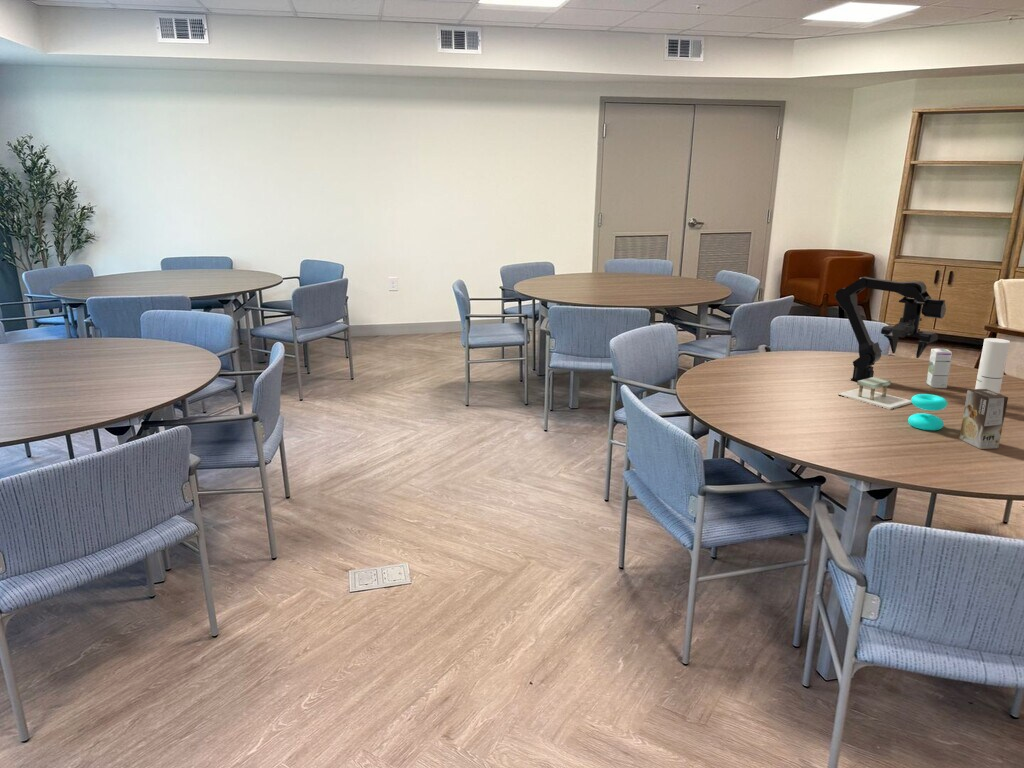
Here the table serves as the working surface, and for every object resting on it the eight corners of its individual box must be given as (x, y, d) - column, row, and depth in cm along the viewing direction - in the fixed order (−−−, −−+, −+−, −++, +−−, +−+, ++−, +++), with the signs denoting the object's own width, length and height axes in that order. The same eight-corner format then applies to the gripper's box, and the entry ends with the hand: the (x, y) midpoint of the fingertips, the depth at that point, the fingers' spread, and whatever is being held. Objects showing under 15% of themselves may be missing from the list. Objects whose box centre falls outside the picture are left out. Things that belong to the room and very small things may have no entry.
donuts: (954, 401, 212) (922, 402, 212) (949, 431, 215) (917, 431, 215) (936, 392, 222) (905, 392, 222) (931, 421, 224) (901, 421, 225)
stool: (871, 392, 254) (873, 376, 252) (888, 396, 249) (890, 380, 247) (855, 396, 249) (857, 380, 247) (872, 400, 244) (874, 385, 242)
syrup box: (947, 388, 260) (953, 351, 256) (930, 387, 261) (936, 351, 257) (941, 384, 265) (947, 348, 261) (924, 383, 267) (930, 348, 263)
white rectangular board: (837, 395, 253) (838, 393, 253) (860, 389, 260) (860, 387, 260) (889, 409, 236) (890, 407, 236) (912, 402, 243) (912, 400, 243)
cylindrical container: (988, 414, 230) (1002, 343, 223) (966, 409, 236) (979, 339, 229) (1000, 411, 233) (1014, 341, 226) (978, 406, 239) (991, 337, 232)
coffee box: (999, 448, 201) (1010, 397, 196) (979, 449, 200) (989, 398, 196) (976, 437, 209) (986, 388, 205) (957, 438, 209) (966, 389, 204)
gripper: (875, 313, 257) (869, 353, 262) (925, 321, 242) (918, 363, 246) (892, 310, 263) (886, 349, 267) (941, 318, 247) (934, 359, 252)
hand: (905, 355), depth 258 cm, fingers open, 9 cm apart
